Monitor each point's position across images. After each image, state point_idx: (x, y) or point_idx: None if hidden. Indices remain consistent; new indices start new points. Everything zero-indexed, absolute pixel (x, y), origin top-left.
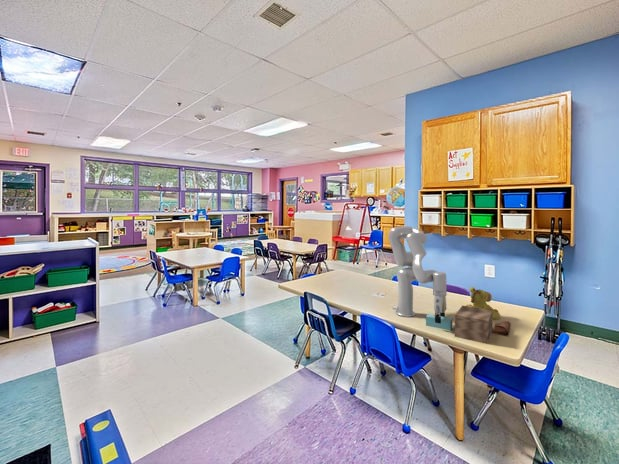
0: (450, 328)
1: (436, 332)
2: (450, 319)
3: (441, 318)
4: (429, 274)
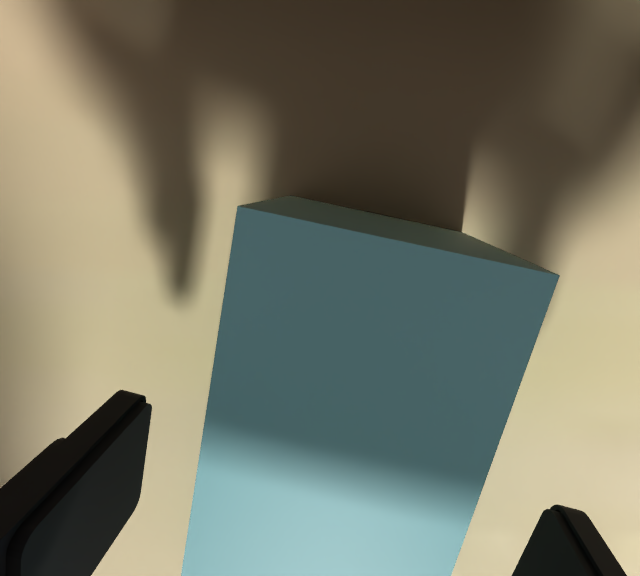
0: (474, 238)
1: (634, 469)
2: (381, 276)
3: (383, 537)
4: None
